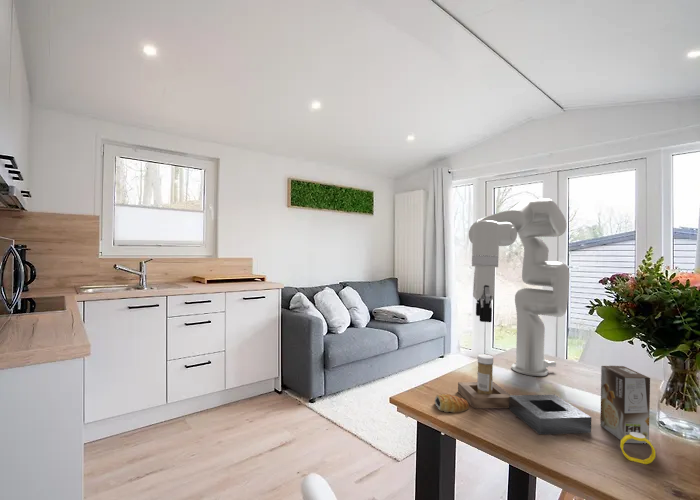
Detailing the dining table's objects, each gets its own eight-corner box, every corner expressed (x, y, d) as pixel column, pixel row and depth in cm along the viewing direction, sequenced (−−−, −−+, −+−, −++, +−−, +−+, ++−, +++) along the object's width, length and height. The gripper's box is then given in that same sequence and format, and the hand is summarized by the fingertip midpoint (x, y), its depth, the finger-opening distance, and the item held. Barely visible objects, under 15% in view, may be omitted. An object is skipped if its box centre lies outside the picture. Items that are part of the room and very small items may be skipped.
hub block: (554, 408, 105) (554, 394, 105) (591, 432, 91) (591, 417, 91) (509, 409, 103) (509, 395, 103) (539, 434, 89) (539, 418, 89)
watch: (622, 462, 79) (620, 434, 79) (620, 455, 81) (618, 429, 82) (657, 468, 76) (655, 440, 76) (653, 461, 79) (651, 434, 79)
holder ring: (493, 390, 116) (493, 381, 116) (513, 407, 104) (514, 397, 104) (457, 391, 115) (458, 382, 115) (474, 408, 103) (474, 398, 103)
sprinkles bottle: (495, 400, 109) (496, 356, 109) (486, 403, 107) (487, 359, 107) (482, 395, 113) (483, 352, 113) (473, 398, 110) (474, 355, 110)
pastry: (463, 403, 107) (463, 390, 107) (472, 413, 101) (473, 400, 101) (432, 403, 106) (433, 391, 106) (440, 414, 100) (440, 401, 100)
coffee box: (650, 444, 86) (652, 378, 86) (623, 443, 86) (625, 377, 86) (622, 425, 95) (624, 365, 95) (598, 424, 95) (599, 364, 95)
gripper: (469, 260, 116) (467, 313, 116) (474, 262, 100) (473, 323, 100) (493, 261, 115) (492, 314, 115) (503, 263, 98) (501, 325, 98)
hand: (483, 318), depth 107 cm, fingers open, 9 cm apart
